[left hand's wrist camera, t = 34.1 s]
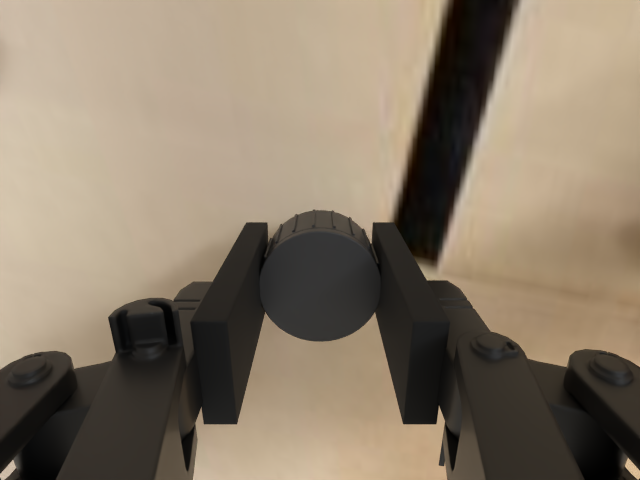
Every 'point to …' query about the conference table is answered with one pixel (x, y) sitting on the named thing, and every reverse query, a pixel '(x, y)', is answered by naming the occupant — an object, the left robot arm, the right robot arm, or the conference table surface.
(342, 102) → the conference table surface
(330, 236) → the cap
